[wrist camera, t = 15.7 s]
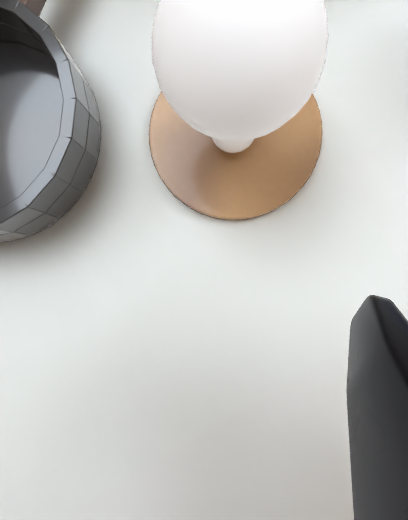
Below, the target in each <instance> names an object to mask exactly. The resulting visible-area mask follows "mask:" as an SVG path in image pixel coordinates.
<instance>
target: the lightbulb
mask: <svg viewBox="0 0 408 520" xmlns="http://www.w3.org/2000/svg"><path fill="white" fill-rule="evenodd" d="M327 43H328V25H327V15H326V8H325V4H324V1H323V0H160V1H159V4H158V7H157V10H156V14H155V18H154V24H153V31H152V57H153V66H154V69H155V73H156V77H157V80H158V83H159V86H160V88H161V90H162V92H163V94H164V96H165V98H166V100H167V102H168V103H169V104H170V106H171V107H172V108H173V110H174V111H175V112H176V113H177V114H178V115H179V116H180V117H181V118H182V119H183V120H184V121H185V122H186V123H187V124H189V125H190V126H191V127H192V128H194V129H195V130H197V131H199V132H201V133H203V134H205V135H207V136H210V137H212V139H213V141H214V143H215V144H216V146H217V147H218V148H220V149H221V150H223V151H225V152H229V153H237V152H241V151H243V150H245V149H246V148H248V147H249V146H250V145H251V144H252V142H253V140H254V139H255V138H258V137H262V136H265V135H267V134H269V133H271V132H273V131H275V130H277V129H279V128H280V127H281V126H282V125H284V124H285V123H286V122H287V121H289V120H290V119H291V118H292V117H294V116H295V115H296V114H297V113H298V112H299V111H300V110H301V108H302V107H303V106H304V105H305V104H306V103H307V101H308V100H309V98H310V96H311V94H312V93H313V91H314V89H315V87H316V85H317V83H318V81H319V79H320V76H321V73H322V70H323V67H324V64H325V59H326V51H327Z"/></svg>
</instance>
